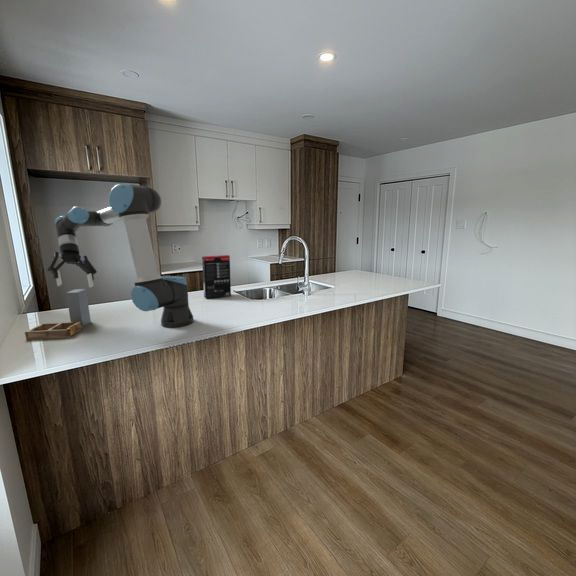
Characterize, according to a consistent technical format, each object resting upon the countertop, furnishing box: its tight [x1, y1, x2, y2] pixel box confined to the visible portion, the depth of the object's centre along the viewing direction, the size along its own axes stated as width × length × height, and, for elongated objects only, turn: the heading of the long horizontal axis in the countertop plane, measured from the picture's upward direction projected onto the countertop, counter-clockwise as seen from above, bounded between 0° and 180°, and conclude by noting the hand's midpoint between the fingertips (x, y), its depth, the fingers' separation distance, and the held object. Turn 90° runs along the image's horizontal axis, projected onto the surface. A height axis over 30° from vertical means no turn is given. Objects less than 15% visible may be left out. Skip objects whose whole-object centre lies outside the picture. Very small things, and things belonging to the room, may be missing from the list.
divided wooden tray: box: [24, 321, 84, 341], centre depth 142 cm, size 12×18×4 cm
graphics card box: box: [201, 254, 232, 300], centre depth 206 cm, size 17×7×27 cm, turn 118°
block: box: [65, 288, 92, 328], centre depth 153 cm, size 8×5×17 cm, turn 8°
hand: (76, 285), depth 147 cm, fingers open, 13 cm apart
